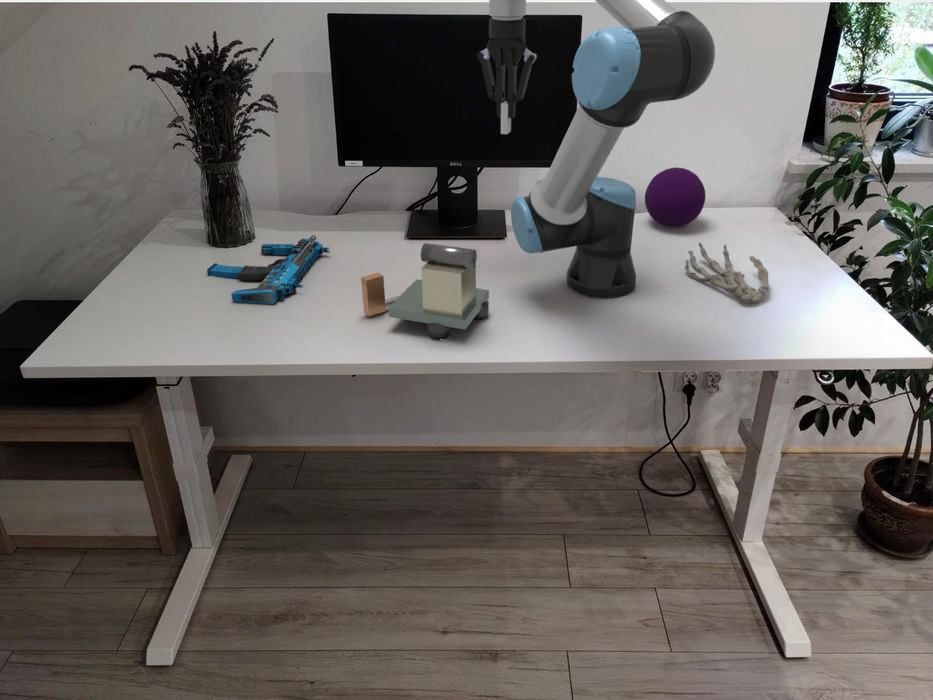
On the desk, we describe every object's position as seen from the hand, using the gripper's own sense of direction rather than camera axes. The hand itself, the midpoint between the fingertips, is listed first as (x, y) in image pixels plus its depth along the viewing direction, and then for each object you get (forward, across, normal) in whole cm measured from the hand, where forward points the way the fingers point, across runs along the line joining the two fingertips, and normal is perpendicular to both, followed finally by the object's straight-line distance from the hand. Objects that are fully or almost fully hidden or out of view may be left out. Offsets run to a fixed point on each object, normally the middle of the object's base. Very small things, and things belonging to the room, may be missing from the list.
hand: (505, 132), depth 174 cm
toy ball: (+30, -35, -33) cm, 56 cm away
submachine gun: (+30, +49, +26) cm, 63 cm away
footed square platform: (+29, +2, +36) cm, 47 cm away
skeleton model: (+30, -51, -2) cm, 59 cm away
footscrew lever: (+29, +13, +33) cm, 46 cm away
